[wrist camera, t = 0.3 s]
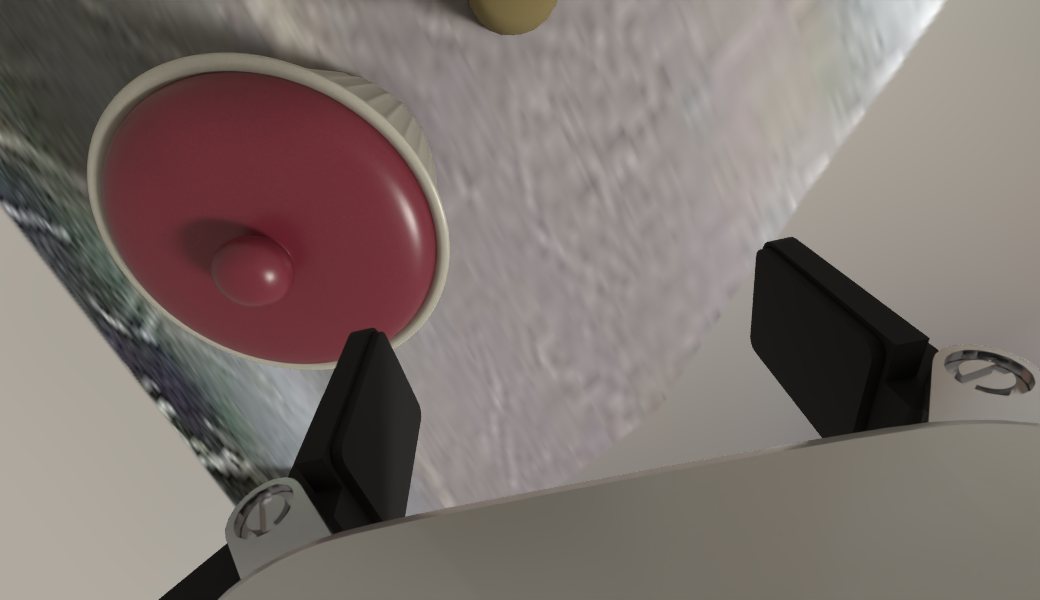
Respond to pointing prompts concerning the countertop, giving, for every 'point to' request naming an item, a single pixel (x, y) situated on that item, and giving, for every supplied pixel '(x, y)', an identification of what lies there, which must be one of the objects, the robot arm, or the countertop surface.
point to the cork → (512, 14)
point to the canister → (270, 206)
